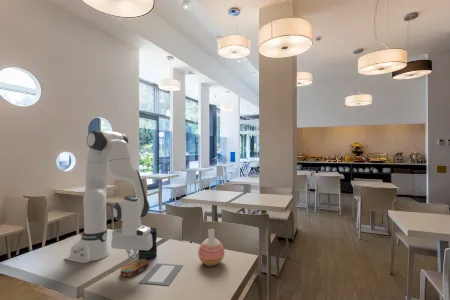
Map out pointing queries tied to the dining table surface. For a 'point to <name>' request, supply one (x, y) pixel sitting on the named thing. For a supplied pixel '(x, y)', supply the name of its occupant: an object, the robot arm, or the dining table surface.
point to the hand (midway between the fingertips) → (131, 257)
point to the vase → (211, 250)
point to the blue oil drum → (153, 251)
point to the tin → (134, 267)
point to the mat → (161, 274)
